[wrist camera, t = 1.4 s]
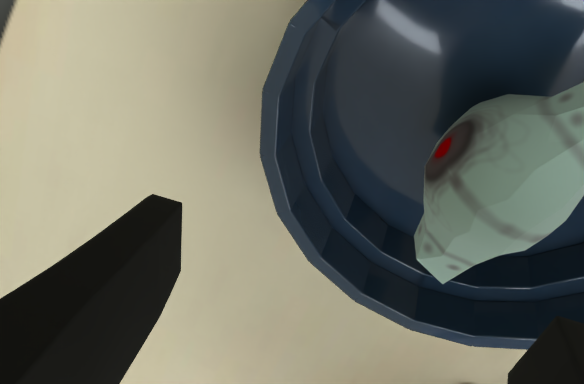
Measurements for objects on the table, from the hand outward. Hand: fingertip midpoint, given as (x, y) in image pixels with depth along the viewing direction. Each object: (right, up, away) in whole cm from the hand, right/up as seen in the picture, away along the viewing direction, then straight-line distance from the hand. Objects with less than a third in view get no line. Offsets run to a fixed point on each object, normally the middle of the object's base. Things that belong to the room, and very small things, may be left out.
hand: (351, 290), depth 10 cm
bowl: (+6, +5, +9) cm, 12 cm away
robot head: (+6, +5, +9) cm, 12 cm away
